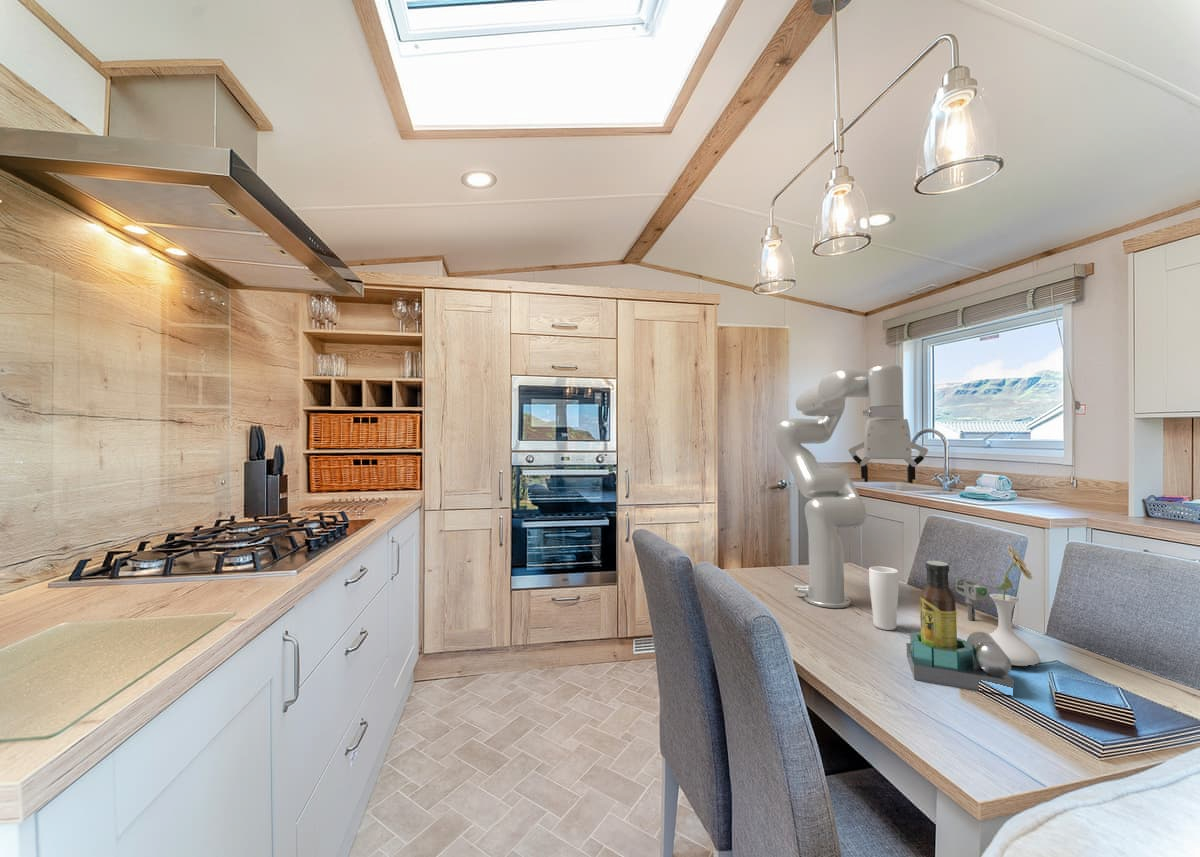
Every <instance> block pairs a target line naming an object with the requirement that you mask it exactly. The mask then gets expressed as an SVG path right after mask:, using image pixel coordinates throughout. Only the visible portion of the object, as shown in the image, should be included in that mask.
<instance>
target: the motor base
mask: <svg viewBox="0 0 1200 857" xmlns="http://www.w3.org/2000/svg"><path fill="white" fill-rule="evenodd" d="M989 634H990V633H987V632H984V631H974V632H972V633H971V634H969V635H968V637H967V639H966V640H965V639H962V638H960V637H957V649H956V650H952V649H945V648H938V647H933V646H931V645H928V644H926V643H923V642H921V631H917V632H910V634H909V640H910V641H909V642H906V657H907V662H908V664H909V667H910V671H911V673H912V677H913V679H914V681H919V682H926V683H932V684H936V685H944V686H948V687H955V688H960V689H966V690H971V691H977V692H981V691H980V690H979V686H978V684H979V681H981V680H983V681H987V682H992V683H995V684H1000V685H1003V686H1007V687H1011V688H1014V689H1015V687H1014V684H1015V682H1014V680H1013V678H1012V676H1010V671H1011V669H1012V665H1011V661H1010V659H1009V658H1008V657H1007V655H1006V654H1005V653H1004V651H1003V650H1002V649H1001V648H1000V646H999V645H998V644H997V643H996V641H995V640H994V639H993V638H992V637H991V636H990V635H989Z"/></svg>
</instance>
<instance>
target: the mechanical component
mask: <svg viewBox="0 0 1200 857" xmlns="http://www.w3.org/2000/svg"><path fill="white" fill-rule="evenodd" d="M955 591H956V592H957V593H958V594H959V595H961V596H963V597H965V600H964V603H966V605H967V620H968V619H969V620H968V621H976V608H975V607H976V605H977V604H978V602H977V601H987V595H988V588H987V587H986V586H984V585H981V584H979V583H977V582H975V581H969V580H968V581H967V580H966V579H964V578H956V579H955ZM973 619H974V620H973Z"/></svg>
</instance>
